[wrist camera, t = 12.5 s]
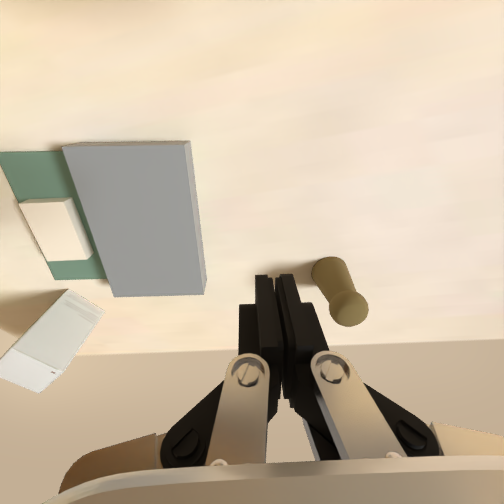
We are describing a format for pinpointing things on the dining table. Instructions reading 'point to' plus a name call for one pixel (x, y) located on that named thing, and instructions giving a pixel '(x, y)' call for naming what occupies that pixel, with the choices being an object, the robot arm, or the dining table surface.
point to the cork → (340, 291)
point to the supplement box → (50, 342)
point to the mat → (51, 186)
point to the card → (57, 228)
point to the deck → (142, 214)
